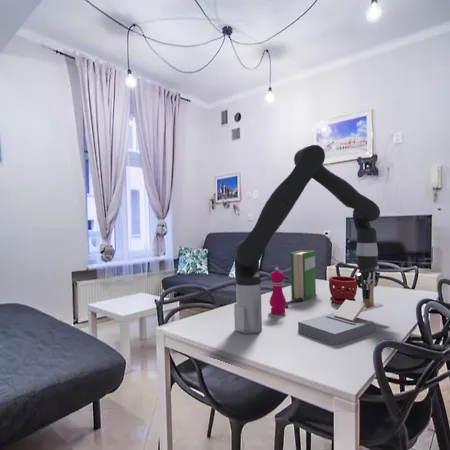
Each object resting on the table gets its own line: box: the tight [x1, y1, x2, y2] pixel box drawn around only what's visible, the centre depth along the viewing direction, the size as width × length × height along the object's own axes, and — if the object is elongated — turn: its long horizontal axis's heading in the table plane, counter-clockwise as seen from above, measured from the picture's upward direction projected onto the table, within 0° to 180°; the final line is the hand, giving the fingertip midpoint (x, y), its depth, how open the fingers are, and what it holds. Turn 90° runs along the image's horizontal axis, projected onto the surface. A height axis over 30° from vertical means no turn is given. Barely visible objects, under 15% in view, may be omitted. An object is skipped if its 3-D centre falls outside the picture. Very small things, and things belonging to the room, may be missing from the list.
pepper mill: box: [269, 266, 287, 315], centre depth 139 cm, size 7×7×20 cm
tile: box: [334, 300, 366, 322], centre depth 117 cm, size 9×8×1 cm
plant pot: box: [328, 275, 358, 305], centre depth 154 cm, size 13×13×12 cm
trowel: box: [360, 283, 384, 313], centre depth 122 cm, size 14×7×9 cm, turn 123°
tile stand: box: [297, 311, 375, 346], centre depth 113 cm, size 21×16×4 cm
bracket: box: [284, 297, 304, 309], centre depth 156 cm, size 14×15×3 cm
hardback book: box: [290, 249, 317, 302], centre depth 169 cm, size 18×7×24 cm, turn 148°
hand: (368, 298), depth 124 cm, fingers closed on trowel, 2 cm apart
